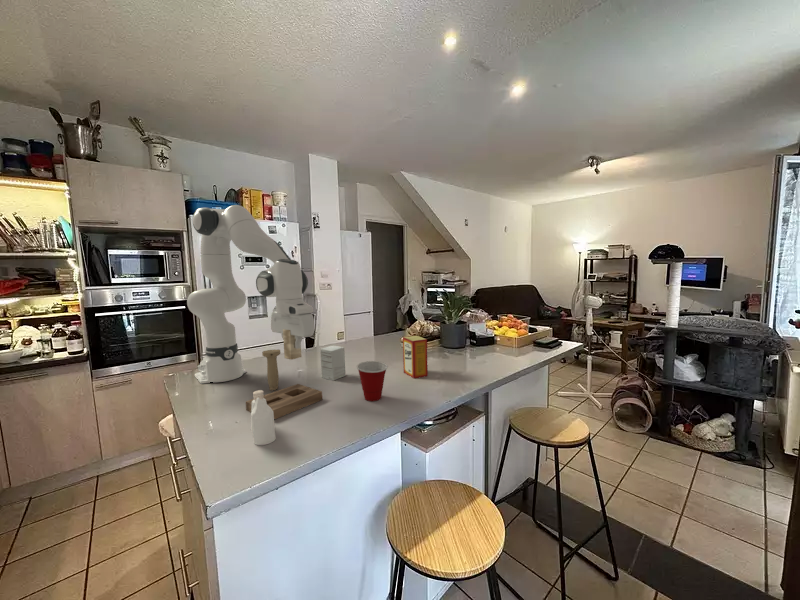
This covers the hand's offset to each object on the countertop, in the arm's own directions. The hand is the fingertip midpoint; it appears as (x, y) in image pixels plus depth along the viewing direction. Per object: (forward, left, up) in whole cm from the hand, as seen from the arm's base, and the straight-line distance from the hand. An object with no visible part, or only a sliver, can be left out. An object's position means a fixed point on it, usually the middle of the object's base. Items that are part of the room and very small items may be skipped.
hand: (292, 347), depth 112 cm
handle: (-17, +2, -19) cm, 26 cm away
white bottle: (+9, -18, -19) cm, 28 cm away
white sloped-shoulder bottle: (+16, -21, -19) cm, 33 cm away
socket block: (0, -4, -19) cm, 19 cm away
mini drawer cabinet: (-9, +25, -19) cm, 33 cm away
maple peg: (0, 0, -4) cm, 4 cm away
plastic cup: (+21, +17, -19) cm, 33 cm away
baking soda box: (+18, +47, -19) cm, 54 cm away
